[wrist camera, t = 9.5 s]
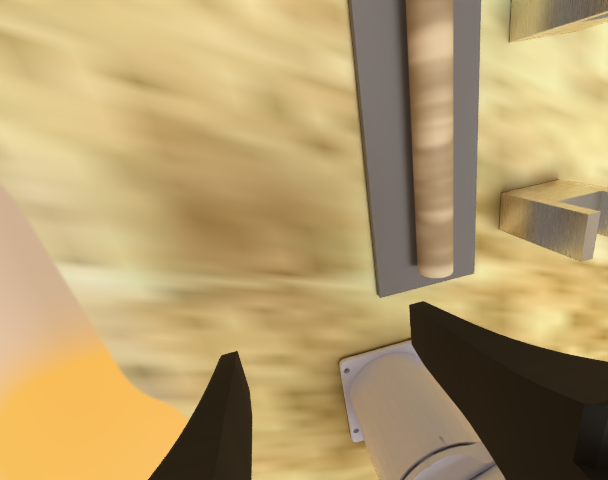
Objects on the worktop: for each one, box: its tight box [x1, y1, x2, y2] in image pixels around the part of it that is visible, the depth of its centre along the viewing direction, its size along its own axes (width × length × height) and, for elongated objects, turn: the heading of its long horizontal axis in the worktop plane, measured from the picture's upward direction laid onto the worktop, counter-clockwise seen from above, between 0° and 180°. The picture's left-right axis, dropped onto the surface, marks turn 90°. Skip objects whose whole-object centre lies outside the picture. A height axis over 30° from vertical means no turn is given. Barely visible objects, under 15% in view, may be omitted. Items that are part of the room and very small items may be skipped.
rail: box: [406, 0, 453, 278], centre depth 20 cm, size 18×2×2 cm, turn 10°
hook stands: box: [499, 0, 608, 262], centre depth 20 cm, size 16×5×6 cm, turn 10°
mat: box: [348, 0, 481, 298], centre depth 21 cm, size 22×8×1 cm, turn 10°
